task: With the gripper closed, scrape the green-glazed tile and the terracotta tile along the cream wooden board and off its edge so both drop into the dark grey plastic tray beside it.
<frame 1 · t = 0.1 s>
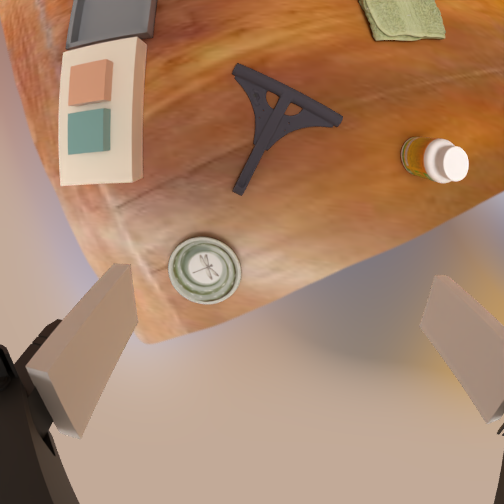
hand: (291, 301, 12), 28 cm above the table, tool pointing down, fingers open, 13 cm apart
supplement bottle: (415, 155, 37), on the table
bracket: (263, 138, 37), on the table
saucer: (206, 265, 43), on the table
terracotta tile: (94, 84, 29), point 4 cm above the table, touching cream board
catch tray: (117, 1, 28), on the table
green glazed tile: (92, 131, 32), point 4 cm above the table, touching cream board
cream board: (106, 113, 34), on the table
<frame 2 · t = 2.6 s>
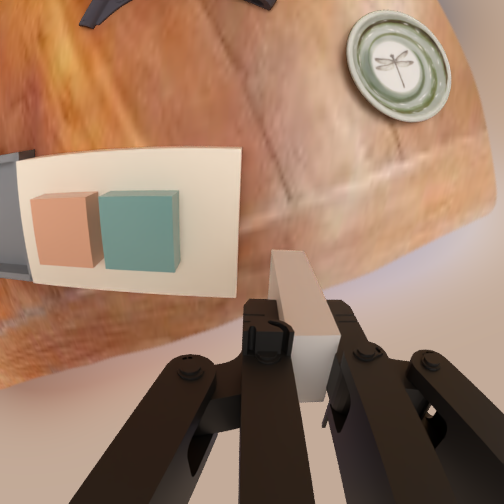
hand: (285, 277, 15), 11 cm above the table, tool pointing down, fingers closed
saucer: (391, 68, 21), on the table
terracotta tile: (72, 225, 21), point 4 cm above the table, touching cream board
green glazed tile: (144, 225, 21), point 4 cm above the table, touching cream board
cream board: (131, 211, 24), on the table
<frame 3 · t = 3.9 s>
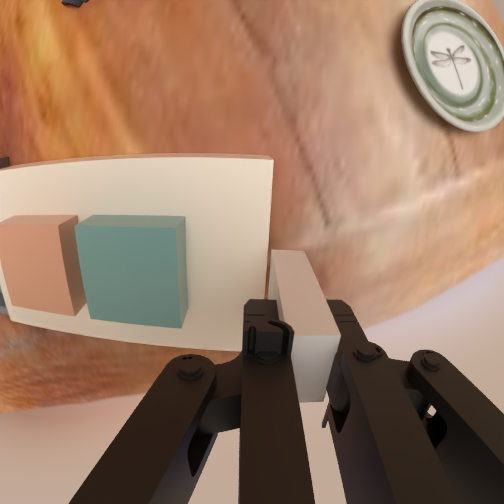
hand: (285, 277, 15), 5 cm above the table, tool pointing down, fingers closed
saucer: (445, 65, 15), on the table
terracotta tile: (49, 256, 15), point 4 cm above the table, touching cream board
green glazed tile: (139, 262, 15), point 4 cm above the table, touching cream board
cream board: (124, 236, 19), on the table
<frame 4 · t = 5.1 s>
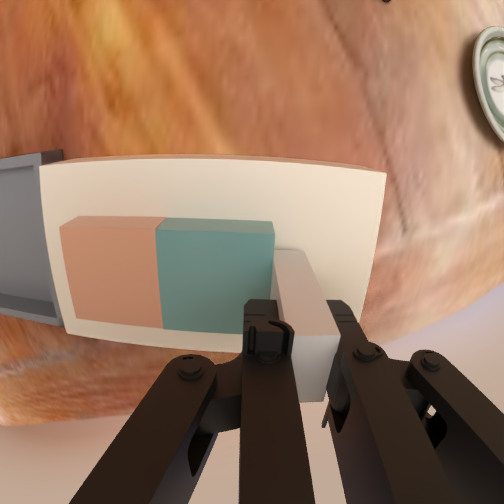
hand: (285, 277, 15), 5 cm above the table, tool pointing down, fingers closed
saucer: (498, 89, 15), on the table
terracotta tile: (123, 262, 15), point 4 cm above the table, touching green glazed tile
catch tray: (4, 233, 19), on the table
green glazed tile: (218, 268, 15), point 4 cm above the table, touching gripper, terracotta tile
cream board: (206, 241, 19), on the table
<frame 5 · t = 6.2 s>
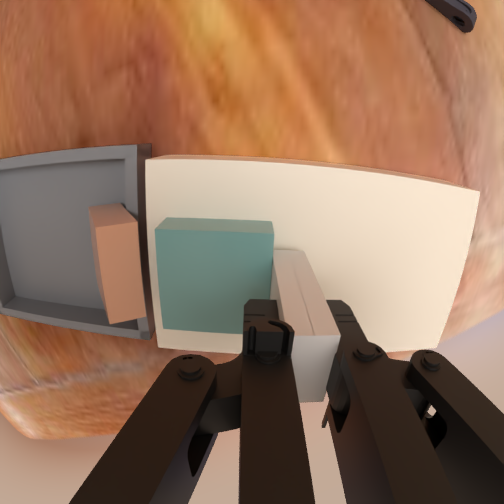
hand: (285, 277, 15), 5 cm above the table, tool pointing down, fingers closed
terracotta tile: (130, 255, 16), point 3 cm above the table, tilted 57°
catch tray: (63, 235, 19), on the table
green glazed tile: (217, 267, 15), point 4 cm above the table, touching cream board
cream board: (311, 246, 19), on the table
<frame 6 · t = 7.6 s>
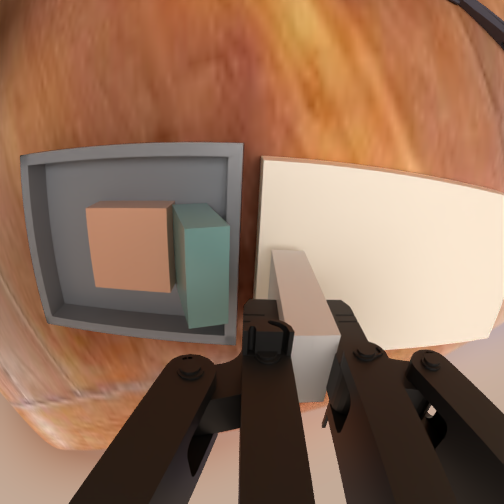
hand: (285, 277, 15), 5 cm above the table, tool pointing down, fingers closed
terracotta tile: (126, 250, 17), point 2 cm above the table, tilted 180°, touching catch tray, green glazed tile
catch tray: (132, 237, 19), on the table
green glazed tile: (216, 258, 17), point 3 cm above the table, tilted 70°, touching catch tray, terracotta tile
cream board: (390, 249, 20), on the table
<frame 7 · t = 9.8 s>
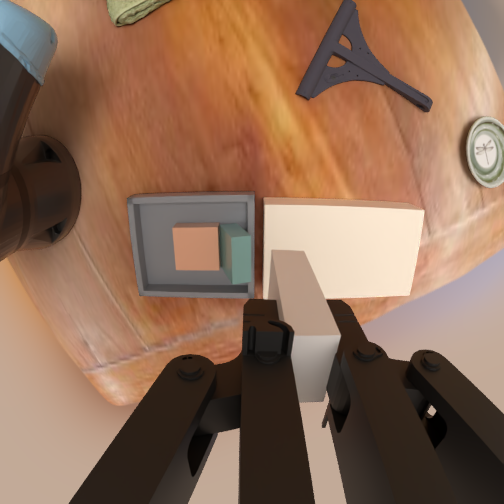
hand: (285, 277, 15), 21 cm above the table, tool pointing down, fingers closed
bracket: (374, 76, 30), on the table
saucer: (480, 150, 32), on the table
terracotta tile: (196, 249, 34), point 2 cm above the table, tilted 180°, touching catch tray, green glazed tile
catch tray: (194, 242, 36), on the table
green glazed tile: (243, 251, 34), point 3 cm above the table, tilted 70°, touching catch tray, terracotta tile
cream board: (338, 242, 36), on the table
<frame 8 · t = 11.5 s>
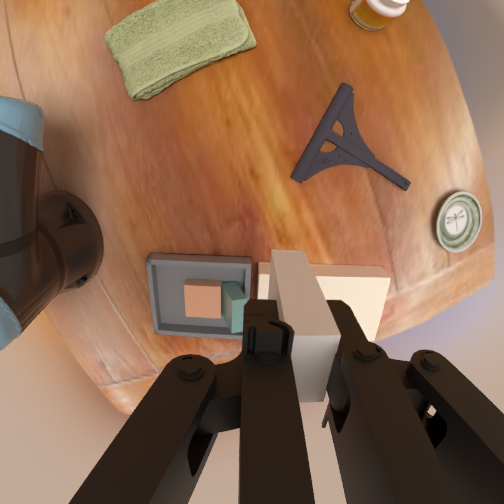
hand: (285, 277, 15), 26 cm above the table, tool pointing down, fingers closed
supplement bottle: (366, 15, 31), on the table
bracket: (361, 157, 39), on the table
saucer: (452, 218, 41), on the table
terracotta tile: (202, 302, 42), point 2 cm above the table, tilted 180°, touching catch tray, green glazed tile
washcloth: (178, 37, 32), on the table
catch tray: (200, 293, 45), on the table
green glazed tile: (240, 305, 42), point 3 cm above the table, tilted 70°, touching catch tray, terracotta tile
cream board: (317, 297, 45), on the table
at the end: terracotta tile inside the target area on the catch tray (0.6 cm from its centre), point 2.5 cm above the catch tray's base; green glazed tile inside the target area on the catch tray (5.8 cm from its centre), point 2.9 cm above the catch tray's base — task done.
